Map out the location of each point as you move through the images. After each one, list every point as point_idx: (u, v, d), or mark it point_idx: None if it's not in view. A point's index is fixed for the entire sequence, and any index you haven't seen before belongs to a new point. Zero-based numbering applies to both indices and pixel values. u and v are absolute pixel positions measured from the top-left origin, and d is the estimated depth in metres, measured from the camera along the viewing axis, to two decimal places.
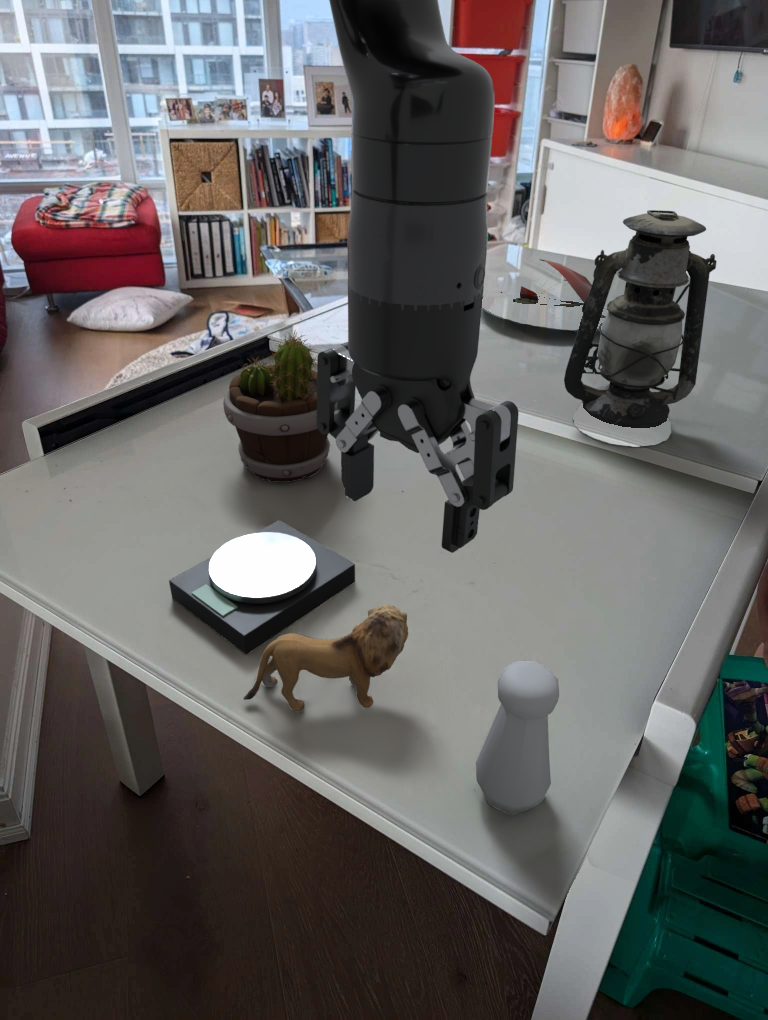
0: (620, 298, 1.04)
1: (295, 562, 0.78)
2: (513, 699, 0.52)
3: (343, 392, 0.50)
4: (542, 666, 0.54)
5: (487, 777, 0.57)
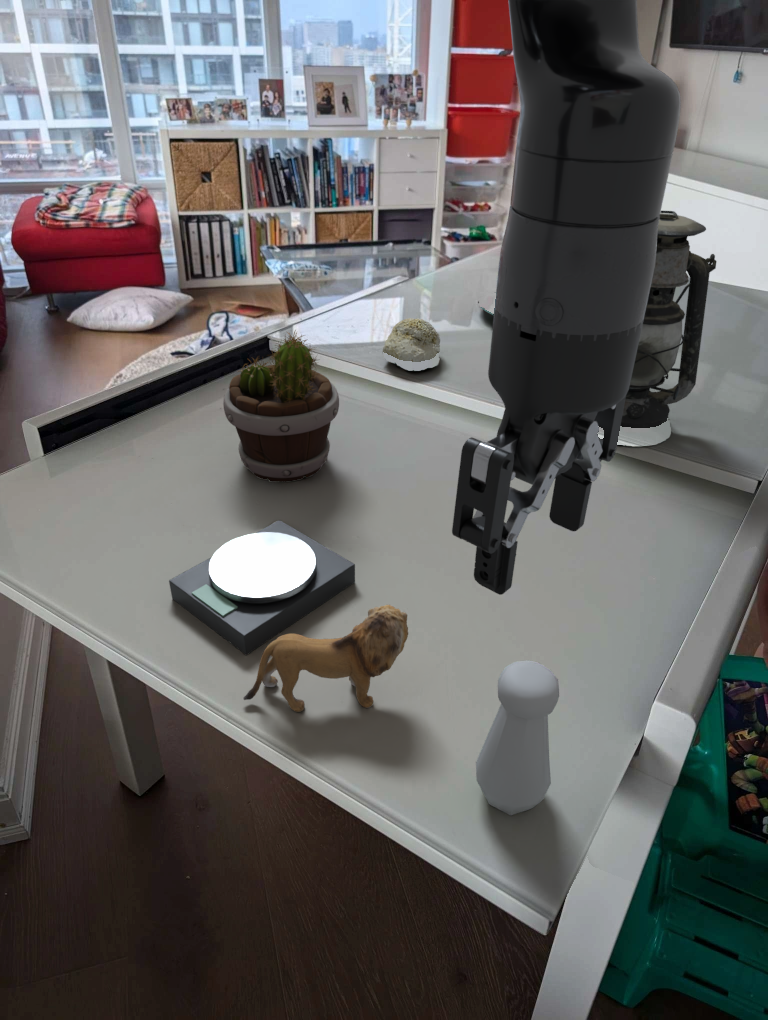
0: None
1: (295, 562, 0.78)
2: (513, 699, 0.52)
3: (595, 418, 0.47)
4: (542, 666, 0.54)
5: (487, 777, 0.57)
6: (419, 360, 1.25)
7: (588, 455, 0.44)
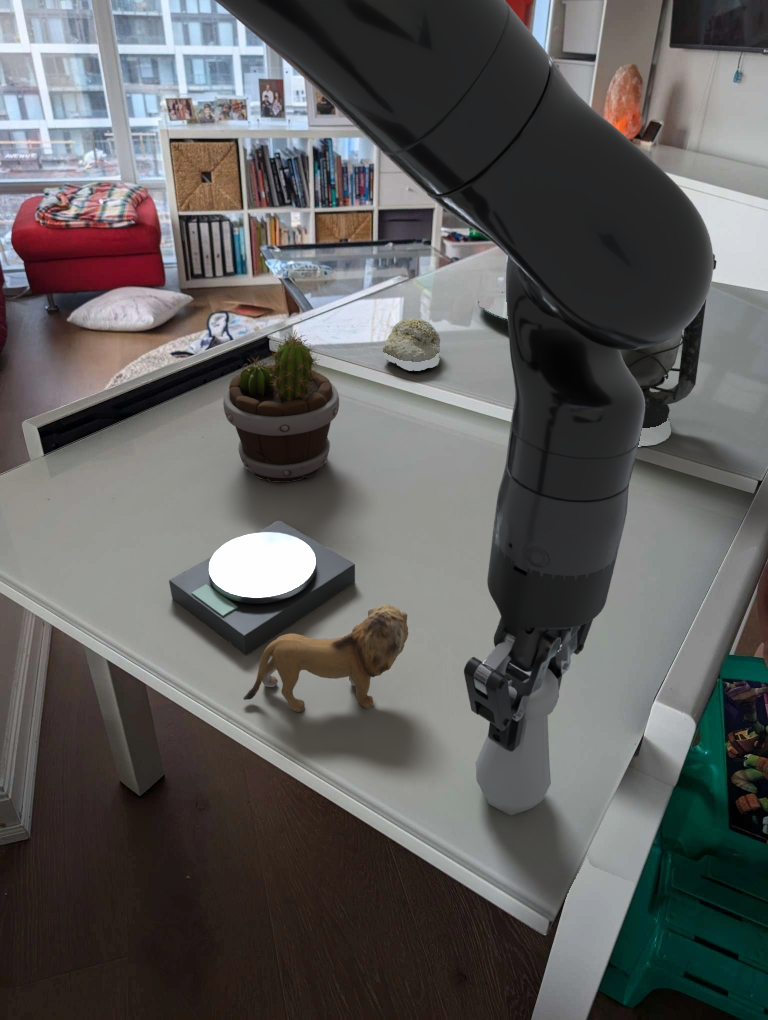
0: None
1: (295, 562, 0.78)
2: None
3: None
4: None
5: (487, 777, 0.57)
6: (419, 360, 1.25)
7: (567, 647, 0.51)
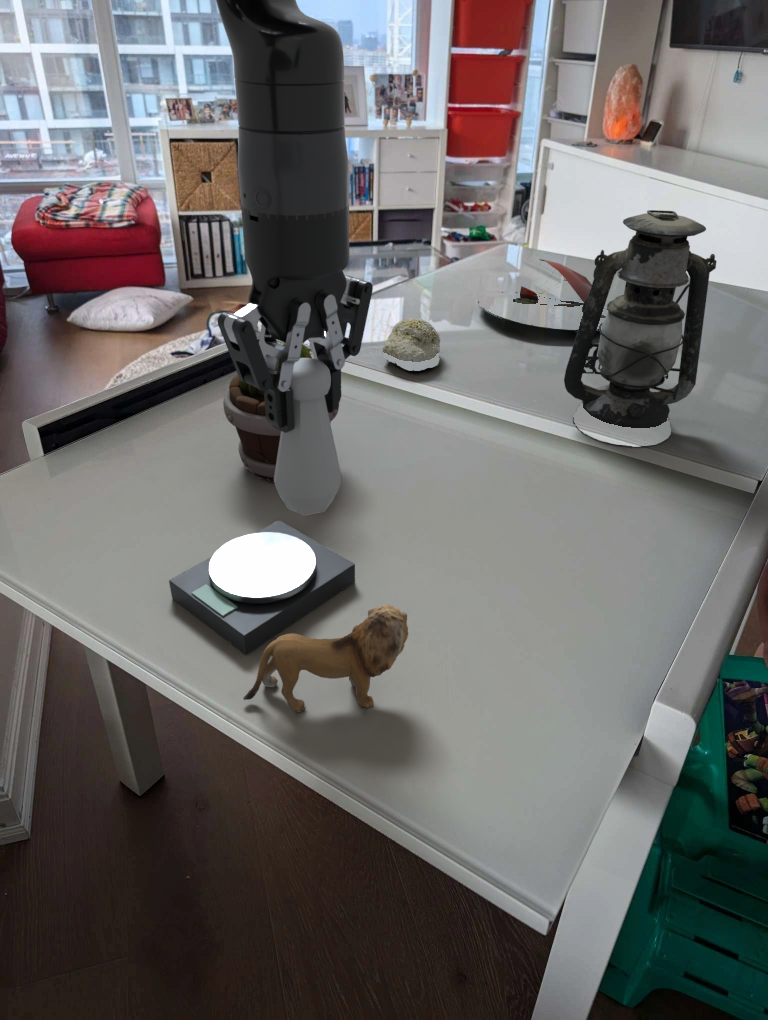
0: (620, 298, 1.04)
1: (295, 562, 0.78)
2: None
3: (346, 316, 0.61)
4: (317, 360, 0.61)
5: (278, 473, 0.64)
6: (419, 360, 1.25)
7: (328, 329, 0.58)
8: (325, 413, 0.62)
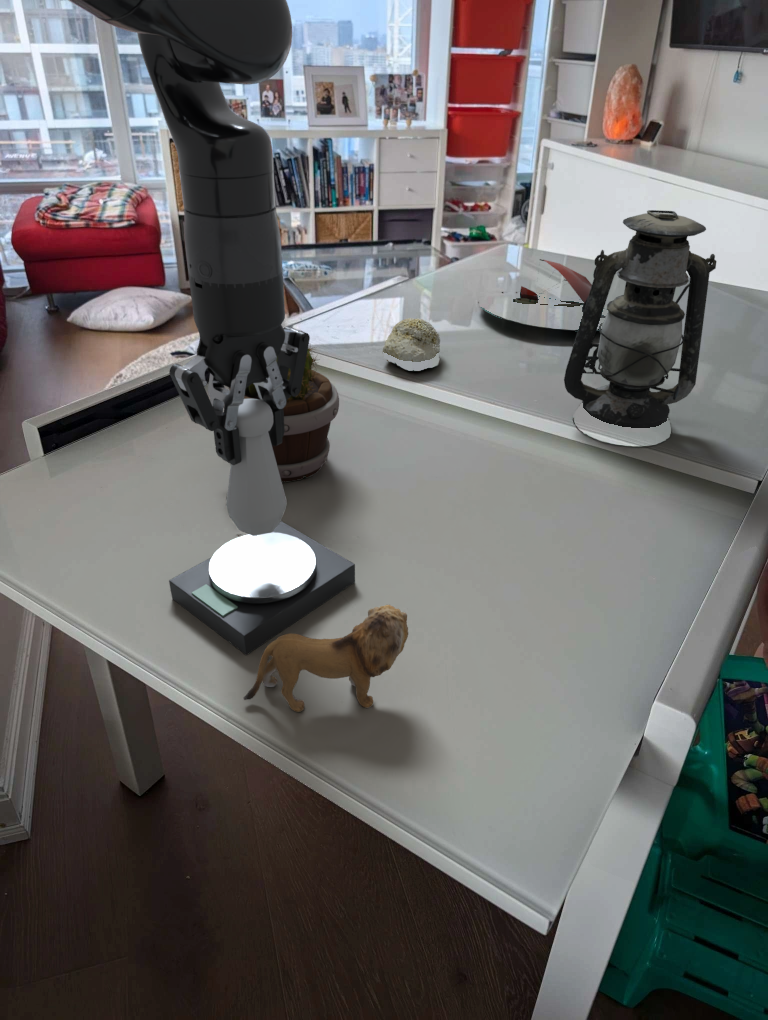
0: (620, 298, 1.04)
1: (295, 562, 0.78)
2: None
3: (286, 362, 0.69)
4: (261, 401, 0.69)
5: (229, 500, 0.72)
6: (419, 360, 1.25)
7: (268, 375, 0.66)
8: (269, 447, 0.70)
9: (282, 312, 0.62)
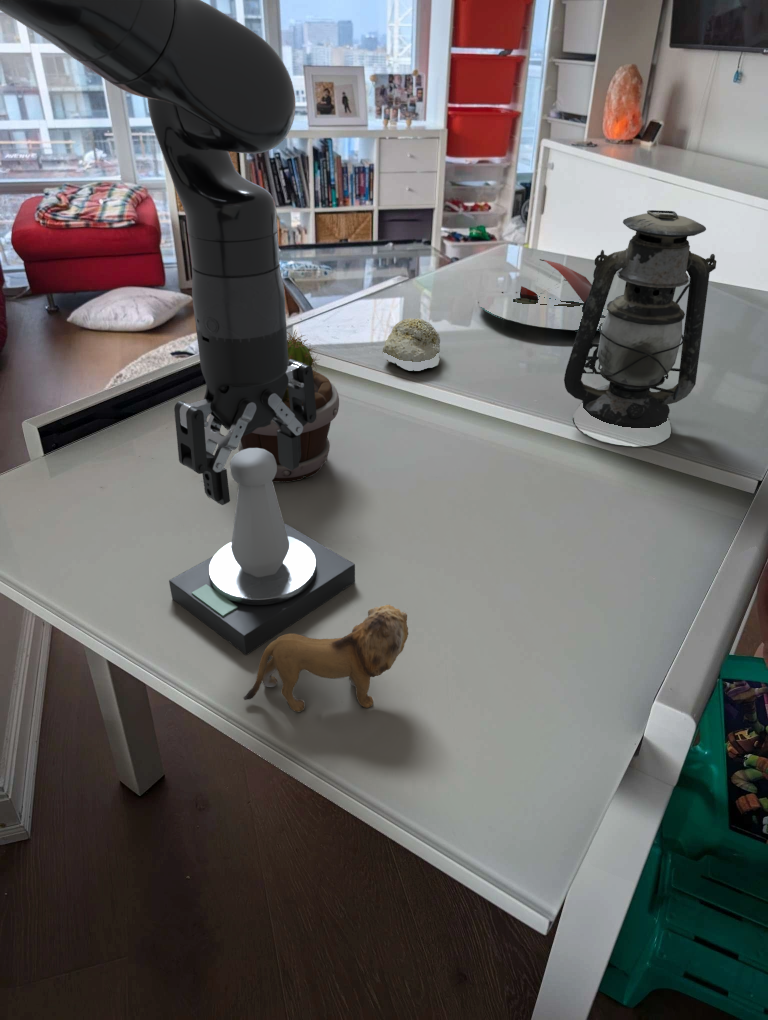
0: (620, 298, 1.04)
1: (295, 564, 0.78)
2: (236, 469, 0.70)
3: (297, 394, 0.72)
4: (265, 450, 0.72)
5: (234, 543, 0.75)
6: (419, 360, 1.25)
7: (279, 416, 0.69)
8: (273, 494, 0.73)
9: (286, 362, 0.65)
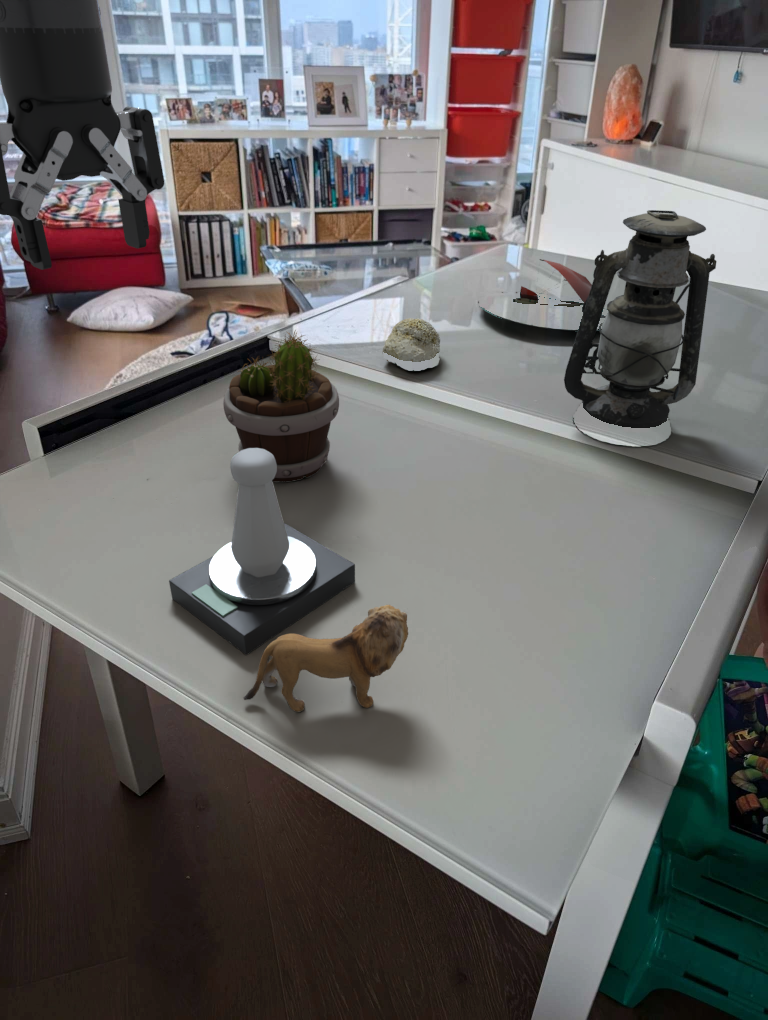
0: (620, 298, 1.04)
1: (295, 564, 0.78)
2: (236, 469, 0.70)
3: (137, 150, 0.62)
4: (265, 450, 0.72)
5: (234, 543, 0.75)
6: (419, 360, 1.25)
7: (108, 163, 0.59)
8: (273, 494, 0.73)
9: (103, 80, 0.54)
